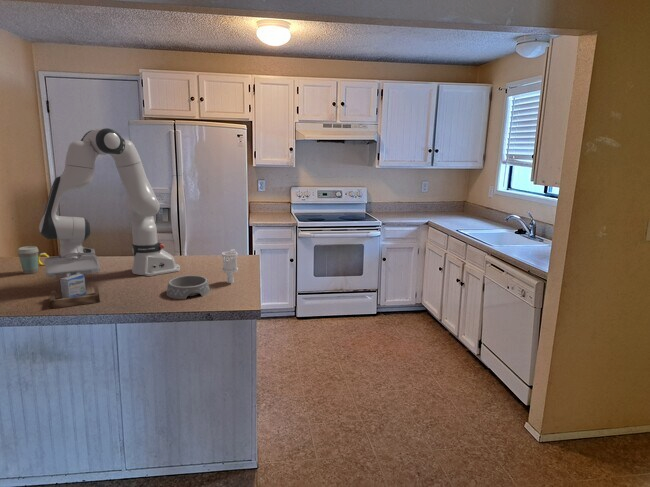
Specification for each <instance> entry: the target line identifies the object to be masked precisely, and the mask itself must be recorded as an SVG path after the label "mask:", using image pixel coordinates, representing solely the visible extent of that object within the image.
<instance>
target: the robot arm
mask: <svg viewBox="0 0 650 487" xmlns="http://www.w3.org/2000/svg"><path fill="white" fill-rule="evenodd" d="M99 155H101V156H102V155H103V156H105V155H110V156H111V157H112V158H113V160H114V163H115V166H116V170H117V171H118V176H119V178H120V181H121V184H122V185H123V187H124V189H125V190H126V191H125V192H127V197H126V205H127V212H128V216H129V220H130V225H131V230H132V231H131V233H132V245H131V249H132V255H133V262H132V269H131V273H132V274H133V275H139V276H147V277H151V276H158V275H159V276H160V275H164V274H169V273H170V274H171V273H175V272H179V271H180V270H181V266H180V265H179V264H178V263H176V259H175V258H174V256H173V255H172V254H171V253H169V252H167V251H166V250H164V248H165V245H164V244H162V243H161V242H160V241H158V230H157V229H158V228H157V225H156V221H155V217H154V216H156V215H157V214H158V213H159V212H160V208H161V204H160V202H159V200H158V198H157V196H156V193H155V191H154V189H153V187H152V185H151V183H150V181H149V179H148V177H147V175H146V171H145V168H144V165H143V162H142V160H141V156H140V154H139V152H138V150H137V148H136V146H135V144H134V143H133V141H131V140H129V139H125V138H123V137H122V136H121V134H120V133H119V132H118V131H117V130H114V129H111V128H107V127H106V128H95V129H93V130H92V129H91V130H89V131H87V132H85V134H84V135H83V136H82V138H81V139H80V140H75V141H72V142H70V143H69V145H68V148H67V152H66V156H65V160H64V161H65V162H64V163H65V164H64V169H63V171H62V173H61V174H60V175H59V176H57V177H56V178H54V180H53V183H52V185H51V188H50V191H49V195H48V198H47V201H46V206H45V209H44V213H43V216H42V218H41V220H40V222H39V225H38V226H39V227H38V230H39V234H40V235H41V236H43V237H44V238H45V239H47V240H57V239H59V244H60V246H59V247H60V248H59V251H60V253H59V254H60V255H54V256H53V255H52V256H49V257H48V258H47V257H46V258H45V259H44V261H43V262H44V263H43V264H45V265H44V266H45V268H44V269H45V270H44V271H45V272H44V273H45V275H46V277H47V278H57V277H58V278H59V277H68V276H71V275H74V274H82V275H87V274H96V273H97V274H98V273H99V272H101V266H100V262H99V258H98V256H97V255H96V251H95V249H94V248H89V247H84V246H83V242H85V241H86V240H87V239H89V238H90V235H91V225H90V222H89V221H88V219H86V218H85V217H82V216H81V217H80V216H64V215H58V214H57V212H58V208H59V206H60V201H61V198H62V196H64V194H66V193H68V192H71V191H75V190H80V189H83V188H86V187H88V186H89V185H90V184H92V182H93V181H94V176H95V168H96V167H95V166H96V165H95V162H96V160H97V157H98V156H99Z"/></svg>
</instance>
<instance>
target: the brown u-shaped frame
mask: <svg viewBox="0 0 650 487" xmlns="http://www.w3.org/2000/svg"><path fill="white" fill-rule="evenodd" d="M93 289H94V293H93V294H88V295H86V294H85V295H82V296H78V297H70V298H57V293H56V290H52V291H51V292H50V296H49V306H50V307H49V308H50V309H51V310H52V309H59V308H65V307H66V308H67V307H73V306H80V305H87V304H88V305H90V304H95V303H97V304H98V303H101V300H100V291H99V286H98V285H95V286H93Z"/></svg>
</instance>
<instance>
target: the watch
mask: <svg viewBox="0 0 650 487" xmlns="http://www.w3.org/2000/svg"><path fill="white" fill-rule="evenodd" d="M42 256H45V257H46V258H48V257H50V255H49V254H47V252H42V253H39V254H38V265H41V266H45V264H44V263H43V262H42V261H41V257H42Z"/></svg>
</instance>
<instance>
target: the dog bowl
mask: <svg viewBox="0 0 650 487" xmlns="http://www.w3.org/2000/svg"><path fill="white" fill-rule="evenodd" d="M210 292H211V288H210V285H209V282H208V279H207V278H206V277H205V276H201V275H197V274H195V275H194V274H193V275H192V274H190V275H188V274H187V275H180V276H177V277H174V278H171V279H170V280H169V281H168V284H167V288H166V296H167V297H169V298H171V299H174V300H187V299H188V298H187V297H193V296H197V295H200V296H201V297H205V296H207V295H208V294H209V293H210Z"/></svg>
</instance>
